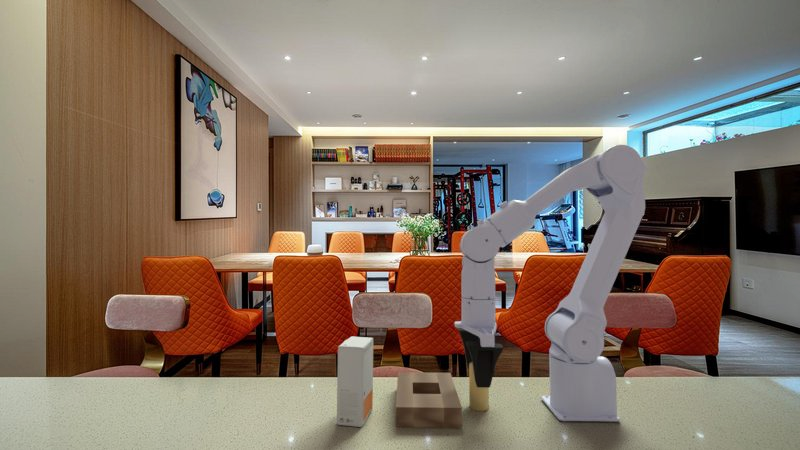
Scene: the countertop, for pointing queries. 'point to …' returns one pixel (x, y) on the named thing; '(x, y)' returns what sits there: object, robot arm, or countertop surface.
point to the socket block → (427, 401)
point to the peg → (477, 393)
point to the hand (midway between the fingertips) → (478, 377)
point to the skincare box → (355, 381)
